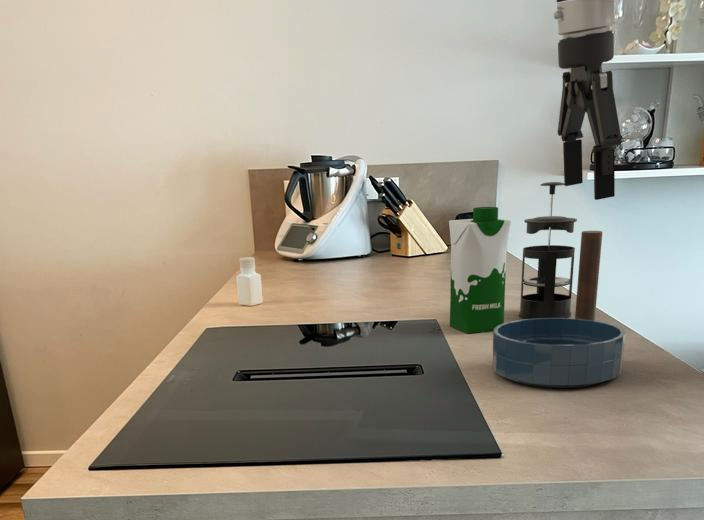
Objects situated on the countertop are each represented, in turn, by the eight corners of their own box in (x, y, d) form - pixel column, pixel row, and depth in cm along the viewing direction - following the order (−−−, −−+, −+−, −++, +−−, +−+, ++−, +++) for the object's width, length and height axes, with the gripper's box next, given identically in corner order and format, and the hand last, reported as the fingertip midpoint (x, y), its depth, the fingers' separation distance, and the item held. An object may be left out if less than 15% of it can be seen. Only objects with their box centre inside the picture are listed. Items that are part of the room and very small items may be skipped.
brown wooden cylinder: (597, 327, 134) (606, 229, 127) (600, 334, 129) (609, 232, 123) (568, 327, 135) (575, 230, 128) (570, 333, 130) (577, 233, 124)
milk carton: (464, 335, 132) (467, 210, 124) (442, 325, 140) (443, 207, 132) (511, 330, 134) (517, 207, 127) (486, 320, 142) (490, 204, 134)
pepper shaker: (237, 305, 166) (233, 259, 162) (249, 302, 169) (246, 256, 165) (251, 306, 164) (247, 259, 160) (264, 303, 167) (260, 257, 163)
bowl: (612, 358, 115) (616, 317, 112) (628, 392, 99) (633, 346, 97) (493, 357, 118) (494, 317, 116) (490, 390, 103) (492, 345, 100)
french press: (575, 321, 139) (586, 182, 130) (521, 322, 140) (528, 184, 131) (565, 308, 150) (574, 179, 141) (515, 309, 151) (521, 181, 142)
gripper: (533, 40, 121) (540, 183, 131) (590, 36, 99) (592, 209, 109) (581, 30, 121) (584, 175, 131) (648, 25, 99) (646, 199, 109)
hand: (588, 191), depth 120 cm, fingers open, 13 cm apart
